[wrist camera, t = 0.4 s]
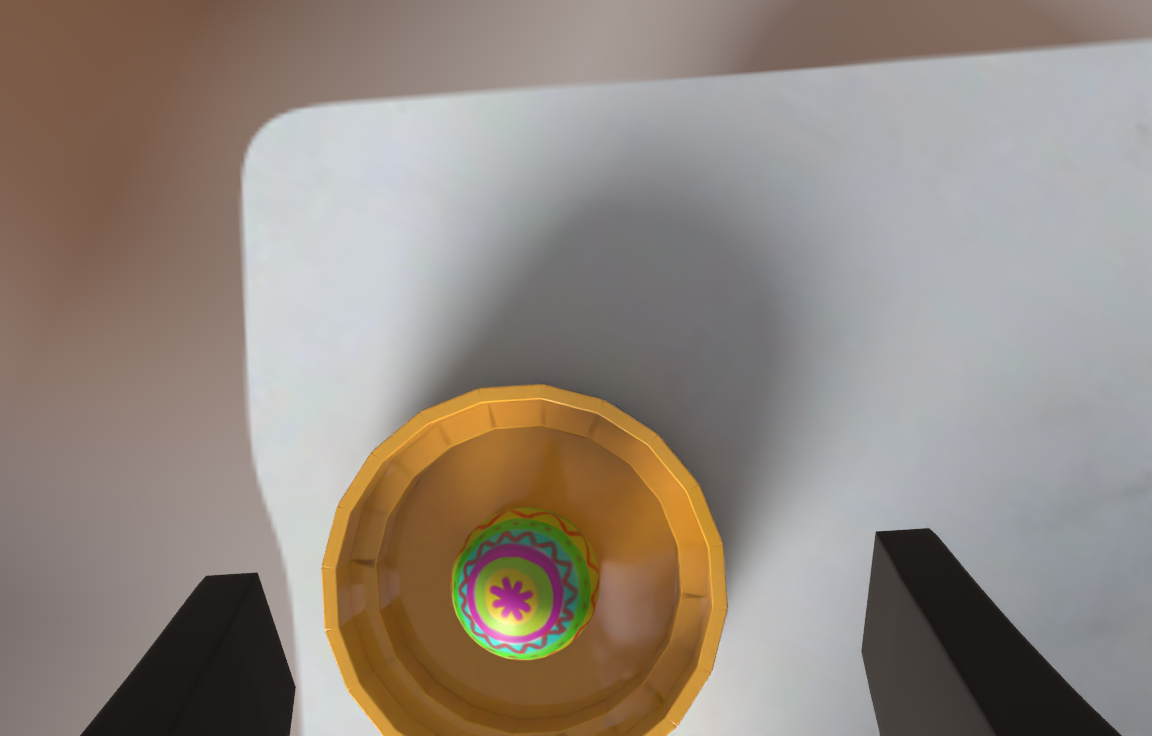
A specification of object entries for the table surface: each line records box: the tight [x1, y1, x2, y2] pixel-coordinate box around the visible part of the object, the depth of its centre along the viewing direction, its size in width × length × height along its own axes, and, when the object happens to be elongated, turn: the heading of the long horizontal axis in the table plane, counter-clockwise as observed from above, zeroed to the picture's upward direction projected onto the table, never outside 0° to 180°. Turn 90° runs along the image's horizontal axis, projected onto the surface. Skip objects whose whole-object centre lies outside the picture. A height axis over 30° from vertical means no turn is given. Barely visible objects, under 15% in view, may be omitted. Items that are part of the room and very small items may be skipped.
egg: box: [451, 507, 600, 660], centre depth 35 cm, size 5×5×6 cm
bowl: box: [321, 384, 728, 736], centre depth 37 cm, size 13×13×4 cm
